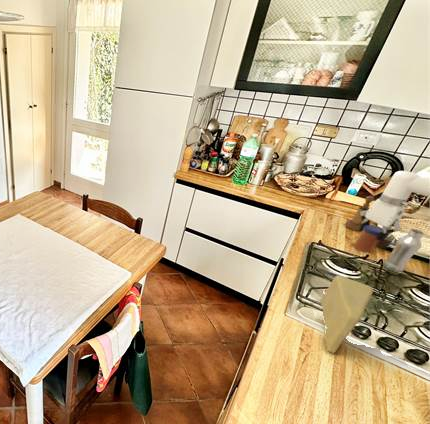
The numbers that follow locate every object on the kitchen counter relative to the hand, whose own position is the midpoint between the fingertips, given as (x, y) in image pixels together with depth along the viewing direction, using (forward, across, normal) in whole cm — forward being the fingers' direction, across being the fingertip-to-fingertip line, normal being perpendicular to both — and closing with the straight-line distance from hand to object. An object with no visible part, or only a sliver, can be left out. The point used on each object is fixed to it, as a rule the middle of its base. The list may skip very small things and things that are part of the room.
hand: (371, 234), depth 138 cm
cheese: (+8, -38, +59) cm, 71 cm away
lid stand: (+8, 0, -11) cm, 13 cm away
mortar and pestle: (+8, +16, -15) cm, 23 cm away
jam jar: (+8, 0, 0) cm, 8 cm away
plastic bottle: (+8, -16, +7) cm, 19 cm away
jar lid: (-3, 0, 0) cm, 3 cm away
